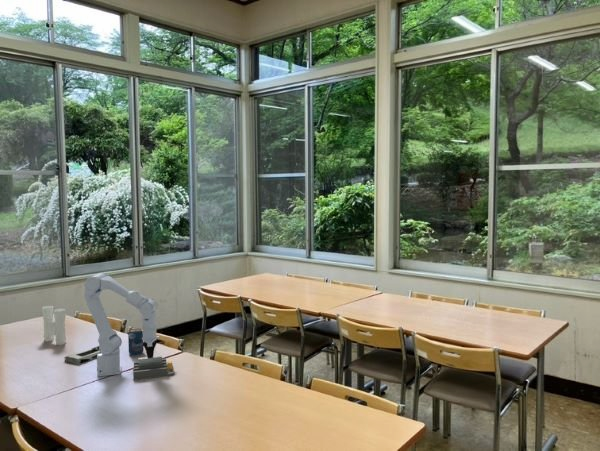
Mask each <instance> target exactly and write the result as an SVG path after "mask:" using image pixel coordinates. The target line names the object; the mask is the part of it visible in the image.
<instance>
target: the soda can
mask: <svg viewBox="0 0 600 451" xmlns="http://www.w3.org/2000/svg"><path fill="white" fill-rule="evenodd" d="M127 335H128V336H127V337H128V341H127V342H128V354H129V355H130V356H132V357H133V356H134V357H135V356H136V357H139V356H141V355H142V354H143V353H144V349H145V347H144V346H143V342H144V341H143V340H142V338H143V328H131V329H129V332H128V334H127Z"/></svg>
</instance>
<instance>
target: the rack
mask: <svg viewBox="0 0 600 451" xmlns="http://www.w3.org/2000/svg"><path fill="white" fill-rule="evenodd" d="M132 375H133V381H137V380H145V379H147V380H148V379H154V378H155V379H156V378H162V377H163V378H164V377H169V376H174V375H175V374H174V367H173V360H167V358H162V365H157V366H148V367H138V361H134V362H133V371H132Z"/></svg>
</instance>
